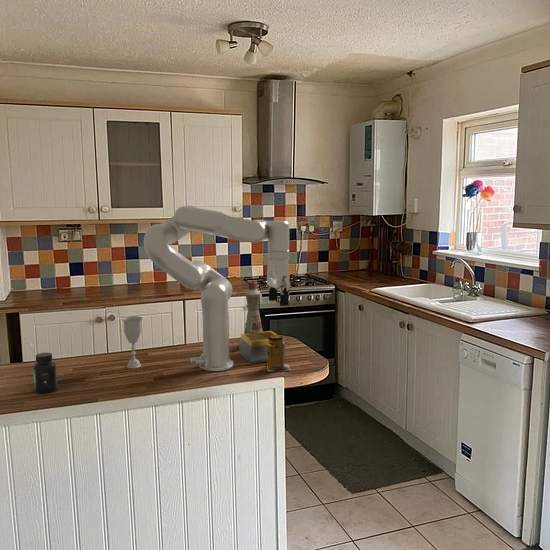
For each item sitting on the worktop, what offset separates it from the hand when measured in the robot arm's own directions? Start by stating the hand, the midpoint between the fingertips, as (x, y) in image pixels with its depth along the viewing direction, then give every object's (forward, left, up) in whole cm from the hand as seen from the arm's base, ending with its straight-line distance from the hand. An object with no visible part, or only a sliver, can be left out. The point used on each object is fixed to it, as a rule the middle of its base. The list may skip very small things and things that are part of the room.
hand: (278, 303), depth 192 cm
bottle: (+2, +30, -24) cm, 39 cm away
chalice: (-48, +23, -24) cm, 59 cm away
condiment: (0, 0, -24) cm, 25 cm away
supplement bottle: (-78, +9, -24) cm, 82 cm away
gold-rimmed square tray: (+1, +16, -24) cm, 29 cm away
